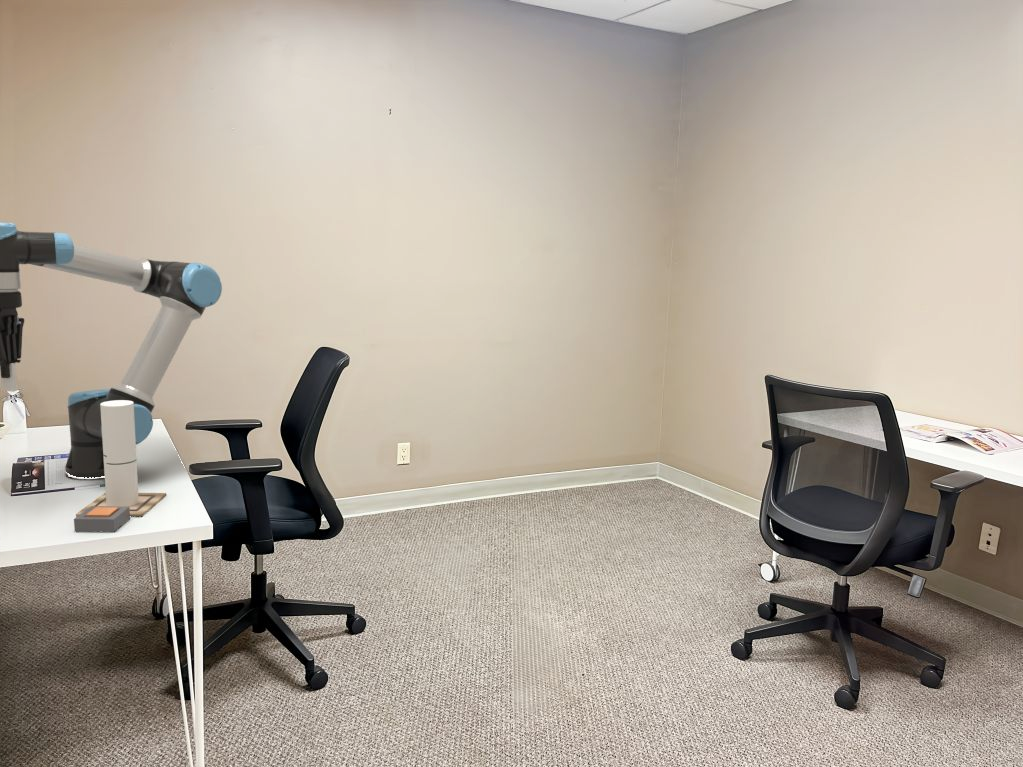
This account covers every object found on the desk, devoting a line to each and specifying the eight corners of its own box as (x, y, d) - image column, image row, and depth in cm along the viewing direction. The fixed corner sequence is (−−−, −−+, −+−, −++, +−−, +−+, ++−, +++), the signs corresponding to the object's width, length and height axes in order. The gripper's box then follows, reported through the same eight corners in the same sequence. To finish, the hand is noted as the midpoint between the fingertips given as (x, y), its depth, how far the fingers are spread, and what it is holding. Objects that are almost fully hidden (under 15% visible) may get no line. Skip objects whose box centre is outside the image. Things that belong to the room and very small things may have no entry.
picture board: (105, 494, 200) (105, 491, 200) (166, 495, 201) (166, 492, 201) (76, 516, 184) (75, 513, 184) (141, 517, 186) (141, 513, 185)
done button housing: (92, 518, 184) (91, 506, 183) (130, 518, 184) (129, 506, 184) (74, 531, 175) (73, 519, 175) (114, 532, 176) (113, 519, 175)
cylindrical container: (130, 496, 198) (125, 398, 193) (144, 502, 193) (139, 403, 189) (101, 502, 192) (94, 402, 188) (114, 509, 188) (108, 407, 183)
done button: (96, 519, 182) (95, 507, 181) (118, 519, 182) (118, 507, 182) (86, 527, 177) (85, 514, 176) (109, 527, 177) (108, 514, 177)
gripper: (0, 288, 187) (8, 385, 191) (-33, 291, 174) (-24, 395, 178) (33, 289, 187) (40, 386, 192) (2, 292, 175) (11, 396, 179)
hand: (9, 390), depth 185 cm, fingers closed
